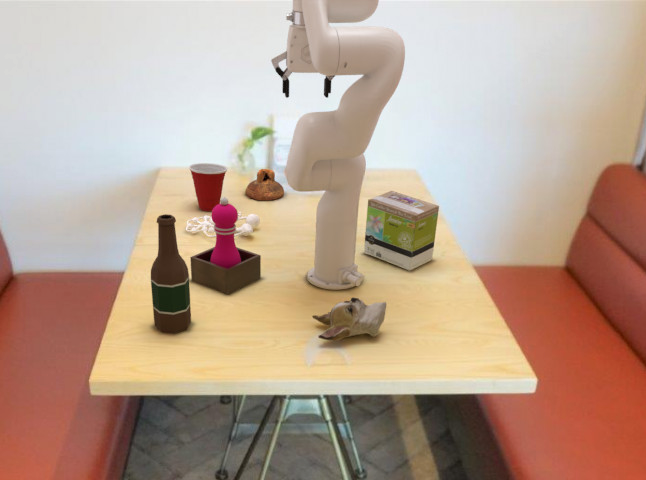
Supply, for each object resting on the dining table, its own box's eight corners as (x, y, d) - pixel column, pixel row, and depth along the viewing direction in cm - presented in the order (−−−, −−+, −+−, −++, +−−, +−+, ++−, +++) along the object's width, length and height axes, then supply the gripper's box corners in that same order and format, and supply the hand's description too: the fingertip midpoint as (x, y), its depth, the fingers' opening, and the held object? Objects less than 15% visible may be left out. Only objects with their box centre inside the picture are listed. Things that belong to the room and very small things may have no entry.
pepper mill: (227, 288, 186) (225, 205, 175) (204, 280, 190) (201, 198, 179) (247, 279, 191) (247, 197, 180) (224, 270, 195) (222, 190, 184)
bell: (288, 190, 246) (288, 166, 242) (278, 202, 236) (278, 178, 232) (251, 186, 248) (251, 162, 244) (240, 198, 238) (240, 174, 234)
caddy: (260, 278, 191) (260, 255, 188) (228, 294, 183) (227, 270, 180) (224, 265, 197) (223, 242, 194) (191, 280, 189) (190, 257, 186)
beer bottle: (175, 337, 166) (168, 226, 153) (146, 327, 169) (137, 218, 156) (198, 323, 171) (193, 215, 158) (170, 313, 175) (163, 207, 162)
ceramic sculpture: (392, 306, 160) (317, 312, 159) (390, 344, 165) (318, 350, 164) (381, 284, 169) (311, 290, 168) (380, 321, 174) (312, 327, 173)
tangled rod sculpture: (177, 241, 212) (176, 227, 210) (195, 218, 223) (193, 204, 221) (248, 247, 209) (247, 233, 206) (262, 224, 220) (261, 209, 217)
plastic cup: (236, 206, 233) (235, 165, 226) (213, 216, 225) (211, 174, 219) (206, 198, 238) (204, 158, 231) (183, 209, 230) (180, 167, 223)
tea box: (362, 254, 205) (366, 198, 197) (386, 244, 211) (391, 189, 203) (410, 272, 197) (416, 213, 189) (433, 260, 203) (440, 203, 195)
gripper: (272, 21, 183) (272, 99, 192) (347, 22, 184) (343, 99, 194) (270, 17, 189) (270, 93, 198) (342, 17, 191) (339, 93, 200)
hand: (306, 96), depth 196 cm, fingers open, 9 cm apart
